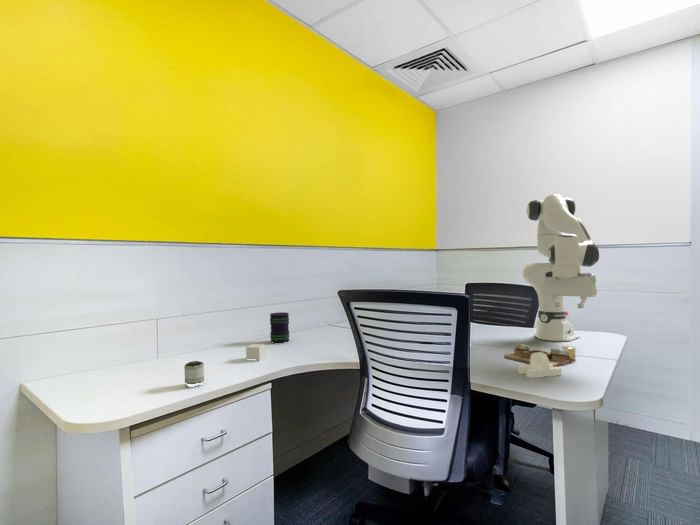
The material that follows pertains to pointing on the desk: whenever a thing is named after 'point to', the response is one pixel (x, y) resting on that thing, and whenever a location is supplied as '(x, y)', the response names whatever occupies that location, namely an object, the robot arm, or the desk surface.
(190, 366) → the camera lens
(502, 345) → the desk surface
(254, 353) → the cream cube
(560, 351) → the angled shaft stand
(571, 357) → the coupler
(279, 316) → the storage jar
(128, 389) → the desk surface
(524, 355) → the bench
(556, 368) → the slotted bracket
